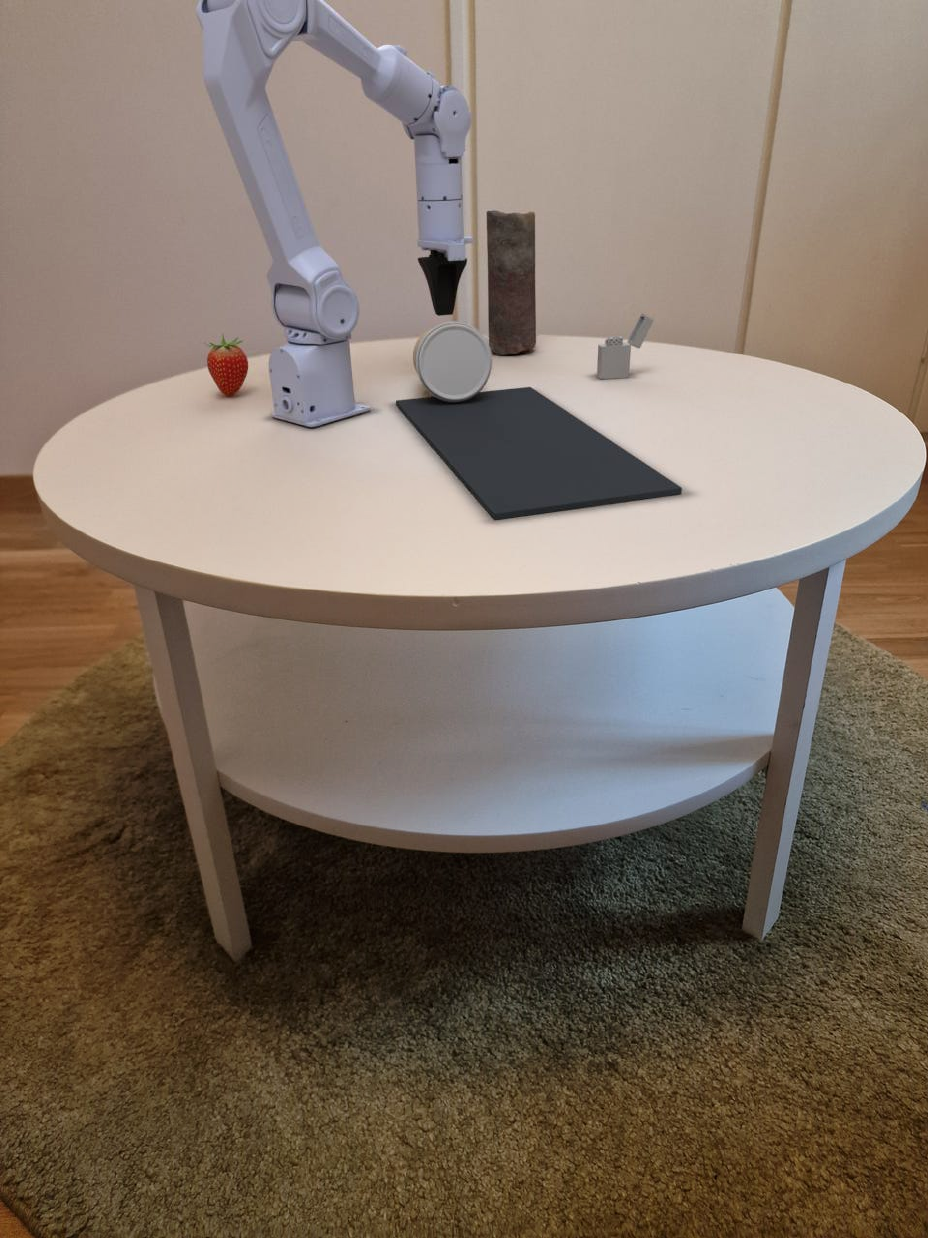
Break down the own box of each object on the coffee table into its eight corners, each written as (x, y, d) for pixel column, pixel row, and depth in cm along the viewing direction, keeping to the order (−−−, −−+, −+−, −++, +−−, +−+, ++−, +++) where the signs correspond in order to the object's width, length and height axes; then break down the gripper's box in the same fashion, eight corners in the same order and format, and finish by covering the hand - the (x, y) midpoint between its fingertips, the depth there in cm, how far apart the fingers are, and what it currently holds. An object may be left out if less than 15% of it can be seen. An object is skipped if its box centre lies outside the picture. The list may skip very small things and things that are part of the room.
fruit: (219, 390, 116) (209, 329, 112) (256, 390, 116) (247, 329, 112) (207, 401, 111) (196, 338, 107) (246, 400, 111) (236, 337, 107)
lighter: (600, 379, 116) (603, 317, 112) (596, 376, 117) (599, 315, 113) (650, 375, 117) (654, 314, 113) (645, 372, 118) (650, 312, 114)
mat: (681, 493, 78) (682, 487, 77) (494, 520, 74) (494, 513, 73) (530, 391, 111) (530, 386, 111) (395, 405, 107) (395, 400, 107)
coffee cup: (468, 398, 116) (485, 408, 105) (401, 386, 114) (410, 395, 103) (482, 327, 113) (500, 330, 102) (412, 313, 111) (423, 314, 100)
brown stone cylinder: (484, 347, 136) (482, 208, 126) (529, 344, 137) (530, 206, 127) (494, 357, 130) (492, 212, 120) (540, 354, 131) (543, 209, 121)
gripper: (488, 200, 100) (489, 320, 107) (455, 195, 113) (458, 303, 119) (430, 203, 99) (435, 325, 105) (403, 198, 111) (409, 307, 118)
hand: (444, 314), depth 112 cm, fingers closed
